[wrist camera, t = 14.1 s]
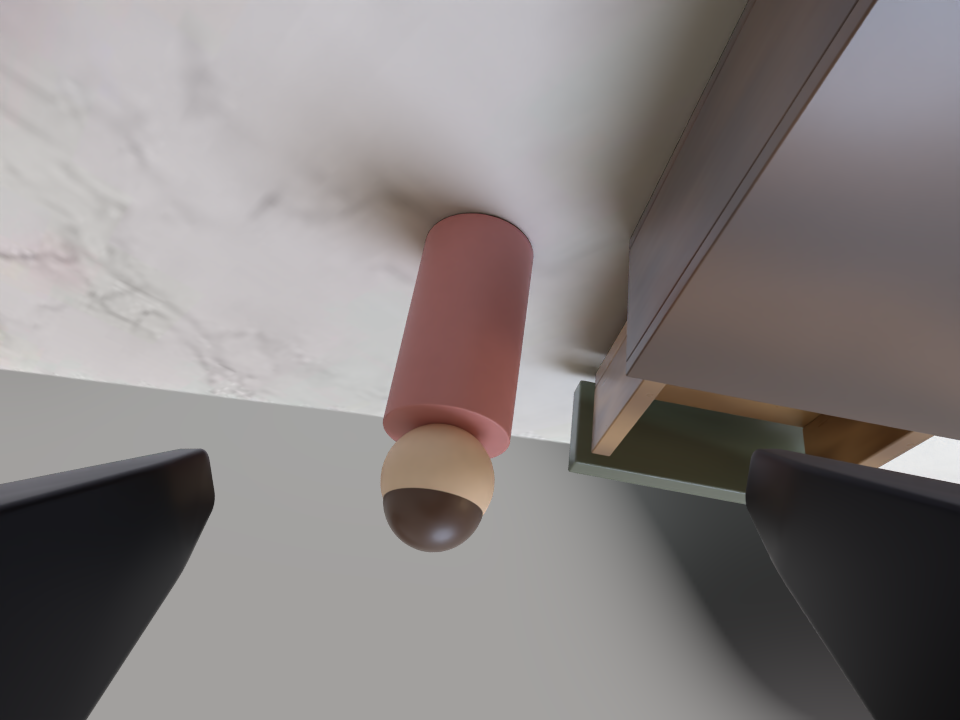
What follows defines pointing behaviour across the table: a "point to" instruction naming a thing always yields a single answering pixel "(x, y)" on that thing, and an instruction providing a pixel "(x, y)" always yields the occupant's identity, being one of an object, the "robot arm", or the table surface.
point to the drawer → (704, 434)
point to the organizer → (814, 219)
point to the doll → (455, 380)
